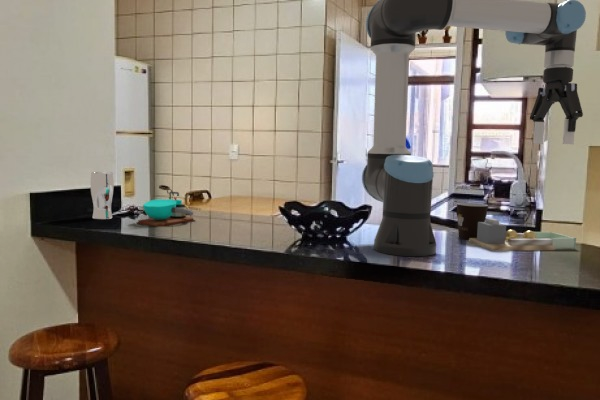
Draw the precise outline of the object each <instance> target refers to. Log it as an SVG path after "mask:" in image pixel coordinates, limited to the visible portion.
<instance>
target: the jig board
mask: <svg viewBox="0 0 600 400" xmlns="http://www.w3.org/2000/svg"><path fill="white" fill-rule="evenodd" d="M524 233H525V232H523V233H522V232H517V235H518V236H517V239H509V240H507V239H506V238H505V244H486V243H483V242H481V241H478V240H477V238H469V240H468V243H470V244H473V245H475V246H476V245H477V246H478V247H480V248H481V247H482V248H484V249H488V250H490V251H555V250H556V249H555V246H554V245H552V244H553V239H524V238H523V235H524Z"/></svg>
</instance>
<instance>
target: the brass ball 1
mask: <svg viewBox="0 0 600 400" xmlns="http://www.w3.org/2000/svg"><path fill="white" fill-rule="evenodd" d="M517 233H518V232H517V231H516V230H515V229H508V230H506V237H505V238H506V239H507V240H509V239H517V236H518V235H517Z"/></svg>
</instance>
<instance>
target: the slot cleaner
mask: <svg viewBox="0 0 600 400" xmlns="http://www.w3.org/2000/svg"><path fill="white" fill-rule="evenodd" d="M506 231H507V225H506V224H504V223H500V220H499V219H496V218H493V217H486V218H485V222H478V229H477V240H478V241H481V242H483V243H486V244H505V237H506Z"/></svg>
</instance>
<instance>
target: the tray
mask: <svg viewBox="0 0 600 400" xmlns="http://www.w3.org/2000/svg"><path fill="white" fill-rule="evenodd" d="M533 232H534V233H535V234H536V239H553V244H552V245H554V246H555V250H576V246H577V237H572V236H569V235H565V234H561V233H557V232H553V231H533Z"/></svg>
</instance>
